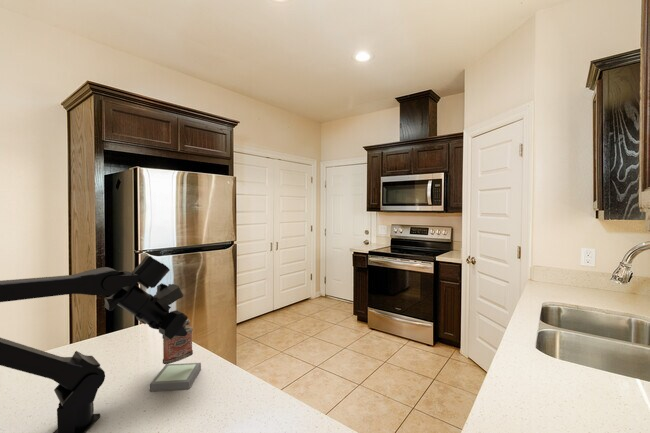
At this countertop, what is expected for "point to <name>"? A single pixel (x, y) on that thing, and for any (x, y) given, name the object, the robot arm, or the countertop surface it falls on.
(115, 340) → the countertop surface
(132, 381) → the countertop surface
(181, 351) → the lighter
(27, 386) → the countertop surface
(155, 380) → the baseplate
